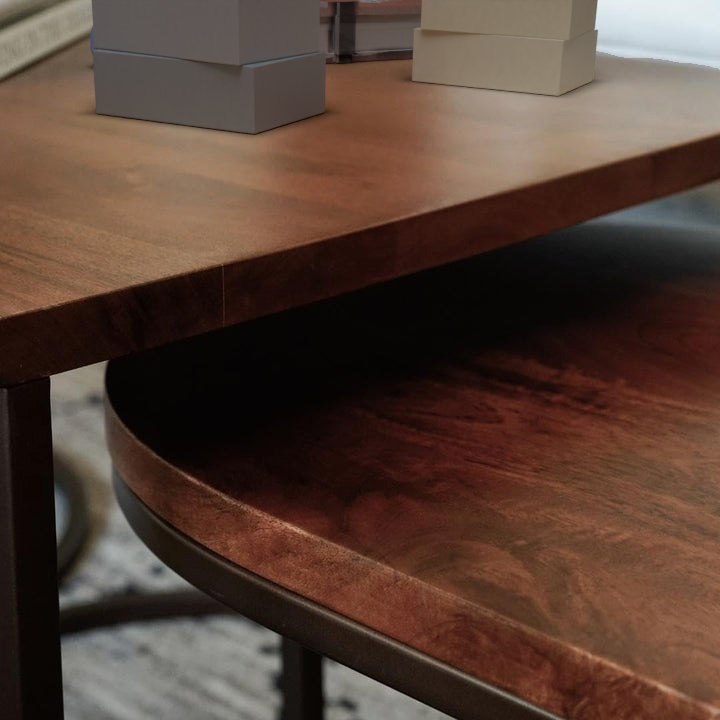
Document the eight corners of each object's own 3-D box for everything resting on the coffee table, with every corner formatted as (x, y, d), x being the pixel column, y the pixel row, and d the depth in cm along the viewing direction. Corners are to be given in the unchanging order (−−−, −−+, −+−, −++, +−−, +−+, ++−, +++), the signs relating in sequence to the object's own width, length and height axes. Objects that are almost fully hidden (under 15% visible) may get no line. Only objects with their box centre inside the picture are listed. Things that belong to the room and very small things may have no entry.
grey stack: (326, 112, 78) (328, -14, 75) (251, 135, 70) (249, -4, 67) (174, 94, 83) (170, -24, 80) (87, 114, 75) (79, -17, 72)
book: (207, 70, 93) (205, 6, 92) (130, 44, 107) (127, -13, 105) (472, 56, 106) (476, -1, 104) (373, 34, 120) (374, -17, 118)
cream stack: (597, 81, 94) (607, -24, 91) (560, 97, 86) (570, -17, 83) (456, 67, 99) (461, -32, 96) (409, 81, 91) (413, -26, 88)
